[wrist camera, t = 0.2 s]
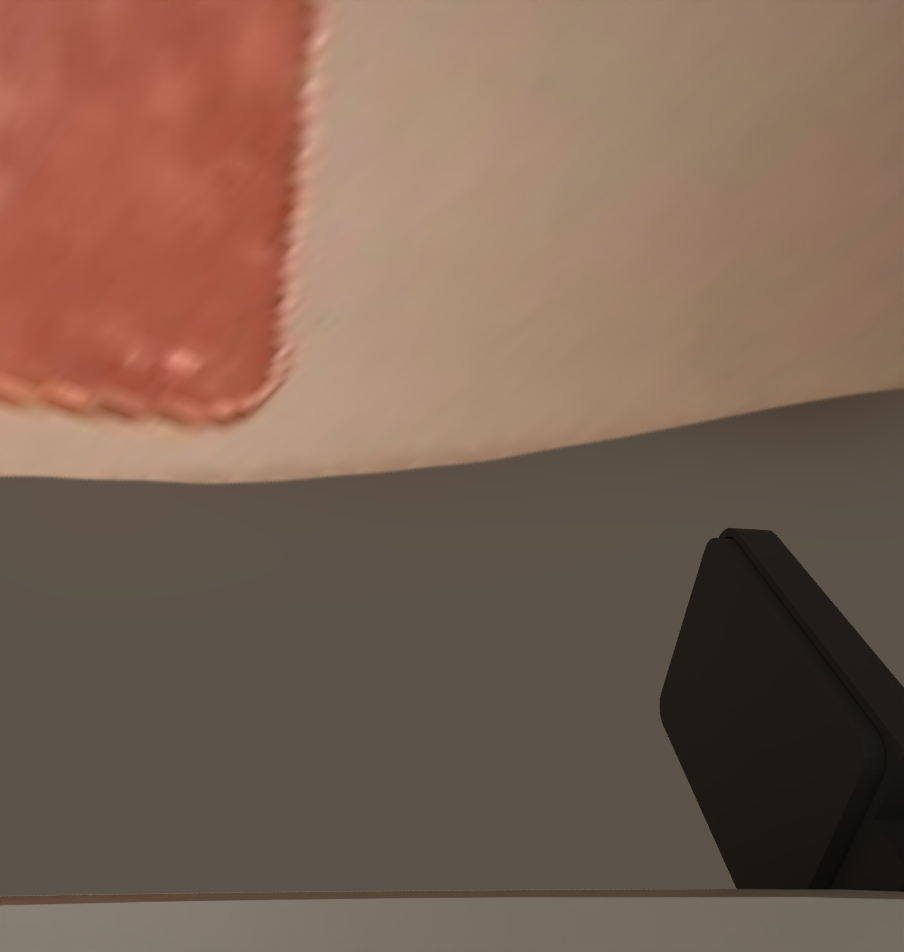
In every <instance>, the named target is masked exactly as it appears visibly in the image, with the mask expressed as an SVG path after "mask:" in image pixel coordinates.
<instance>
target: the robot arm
mask: <svg viewBox="0 0 904 952" xmlns="http://www.w3.org/2000/svg"><path fill="white" fill-rule="evenodd" d="M660 715H661V720H662V723H663V726H664V728H665V730H666V732H667V735H668V737H669V739H670V741H671V744H672V746H673V748H674V750H675V752H676V755H677V757H678V759H679V761H680V764H681V766H682V768H683V770H684V772H685V775H686V777H687V779H688V781H689V783H690V786H691V788H692V790H693V793H694V795H695V797H696V799H697V802H698V804H699V806H700V808H701V810H702V813H703V815H704V817H705V819H706V821H707V824H708V826H709V828H710V830H711V833H712V835H713V837H714V839H715V842H716V844H717V846H718V848H719V850H720V853H721V855H722V857H723V859H724V862H725V864H726V866H727V868H728V871H729V873H730V875H731V877H732V879H733V882H734V884H735V886H736V888H737V889H635V890H634V889H629V890H628V889H625V890H624V889H622V890H621V889H619V890H618V889H617V890H616V889H614V890H451V891H450V890H449V891H446V890H445V891H340V892H338V891H337V892H243V893H173V894H172V893H170V894H105V895H42V896H40V895H39V896H0V952H904V687H903V686H902V685H901V684H900V683H899V681H898V680H897V679H896V678H895V677H894V675H893V674H892V673H891V672H890V671H889V669H888V668H887V667H886V666H885V665H884V664H883V662H882V661H881V660H880V659H879V658H878V656H877V655H876V654H875V653H874V652H873V650H872V649H871V648H870V647H869V646H868V644H867V643H866V642H865V641H864V640H863V638H862V637H861V636H860V635H859V634H858V632H857V631H856V630H855V629H854V628H853V626H852V625H851V624H850V623H849V622H848V620H847V619H846V618H845V617H844V616H843V614H842V613H841V612H840V611H839V610H838V608H837V607H836V606H835V605H834V604H833V603H832V601H831V600H830V599H829V598H828V597H827V595H826V594H825V593H824V592H823V591H822V589H821V588H820V587H819V586H818V585H817V583H816V582H815V581H814V580H813V579H812V577H811V576H810V575H809V574H808V573H807V571H806V570H805V569H804V568H803V567H802V565H801V564H800V563H799V562H798V561H797V560H796V558H795V557H794V556H793V555H792V554H791V552H790V551H789V550H788V549H787V548H786V546H785V545H784V544H783V543H782V541H781V540H780V539H779V538H778V537H777V535H775V534H774V533H773V532H772V531H768V530H754V529H737V528H728V529H726V530H724V531H723V532H722V533H721V535H720V536H719V538H713V539H711V540H710V541H709V542H708V543H707V545H706V548H705V551H704V554H703V557H702V561H701V564H700V567H699V571H698V574H697V577H696V580H695V584H694V587H693V590H692V594H691V597H690V600H689V603H688V607H687V610H686V613H685V617H684V620H683V623H682V626H681V630H680V633H679V636H678V640H677V643H676V646H675V650H674V653H673V656H672V660H671V663H670V666H669V669H668V673H667V676H666V680H665V683H664V686H663V689H662V692H661V697H660Z"/></svg>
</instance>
